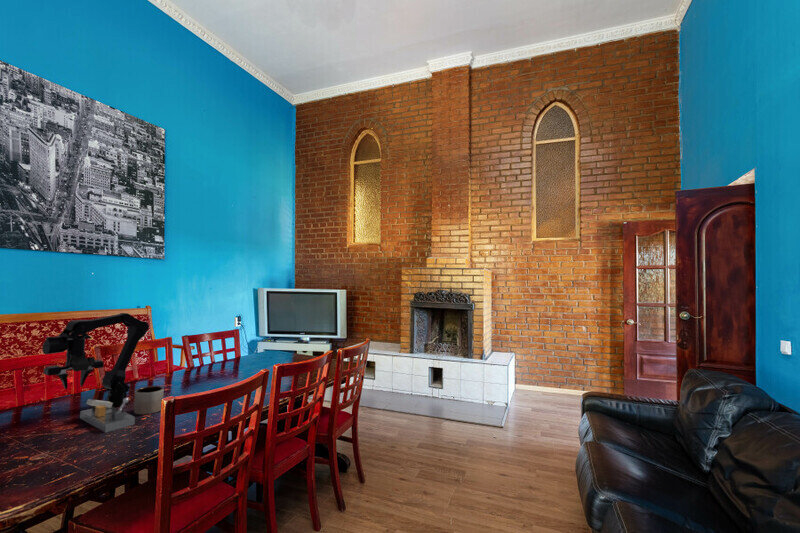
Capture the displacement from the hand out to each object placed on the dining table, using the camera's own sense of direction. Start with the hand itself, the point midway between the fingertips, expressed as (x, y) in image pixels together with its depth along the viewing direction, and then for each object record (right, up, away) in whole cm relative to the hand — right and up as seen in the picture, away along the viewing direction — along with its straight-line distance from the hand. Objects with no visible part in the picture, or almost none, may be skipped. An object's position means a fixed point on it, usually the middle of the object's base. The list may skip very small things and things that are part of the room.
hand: (73, 387), depth 162 cm
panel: (+17, -12, -4) cm, 22 cm away
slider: (+16, -9, -6) cm, 19 cm away
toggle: (+25, -8, -9) cm, 27 cm away
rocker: (+10, -8, 0) cm, 13 cm away
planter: (+26, -13, +9) cm, 30 cm away
